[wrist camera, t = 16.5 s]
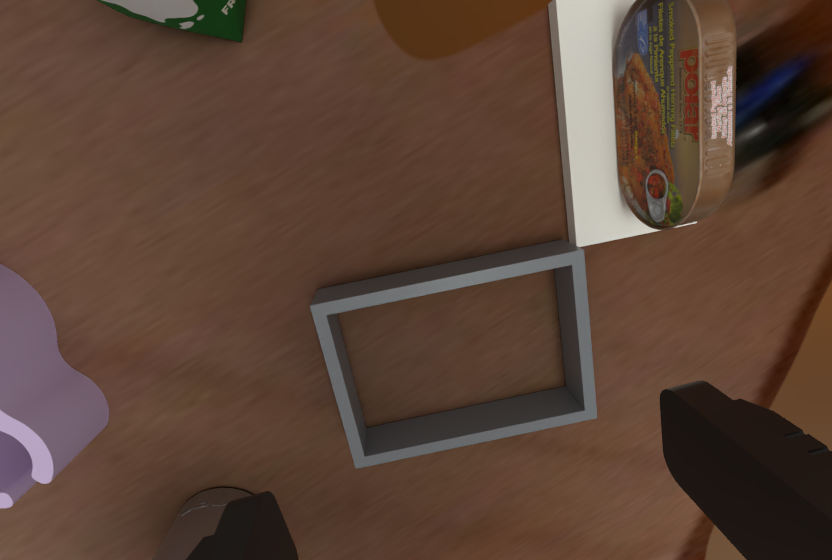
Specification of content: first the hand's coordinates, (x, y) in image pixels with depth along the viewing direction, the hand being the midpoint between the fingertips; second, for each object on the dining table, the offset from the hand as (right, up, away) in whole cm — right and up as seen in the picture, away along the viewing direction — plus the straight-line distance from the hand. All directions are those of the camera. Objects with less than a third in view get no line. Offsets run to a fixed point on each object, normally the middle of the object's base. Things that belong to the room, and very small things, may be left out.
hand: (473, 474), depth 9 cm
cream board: (+15, +16, +25) cm, 34 cm away
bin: (+2, -2, +30) cm, 30 cm away
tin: (+15, +16, +24) cm, 33 cm away
